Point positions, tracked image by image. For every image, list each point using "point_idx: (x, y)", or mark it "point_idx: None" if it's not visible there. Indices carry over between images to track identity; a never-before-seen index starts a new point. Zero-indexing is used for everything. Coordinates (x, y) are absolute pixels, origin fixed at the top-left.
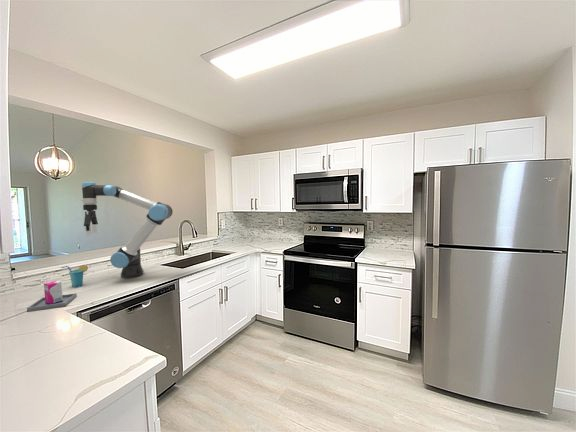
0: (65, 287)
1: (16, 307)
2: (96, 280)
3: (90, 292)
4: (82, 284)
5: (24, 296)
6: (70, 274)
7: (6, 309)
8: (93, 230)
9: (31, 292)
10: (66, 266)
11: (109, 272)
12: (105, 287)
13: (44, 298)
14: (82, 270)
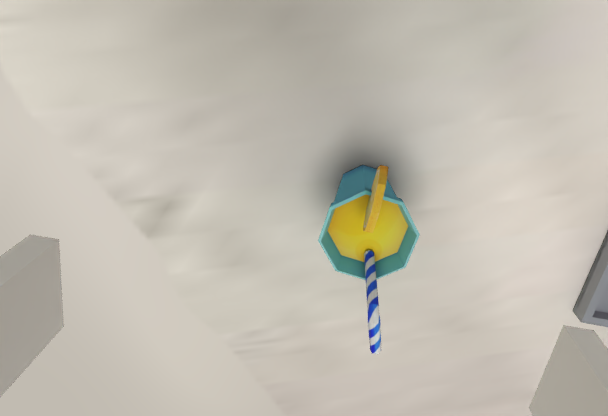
0: None
1: None
2: (276, 89)
3: (605, 98)
4: (363, 166)
5: (405, 389)
6: (379, 263)
7: None
8: (11, 352)
9: (343, 377)
10: (379, 322)
11: (47, 12)
12: (547, 8)
13: (591, 311)
14: (386, 199)
